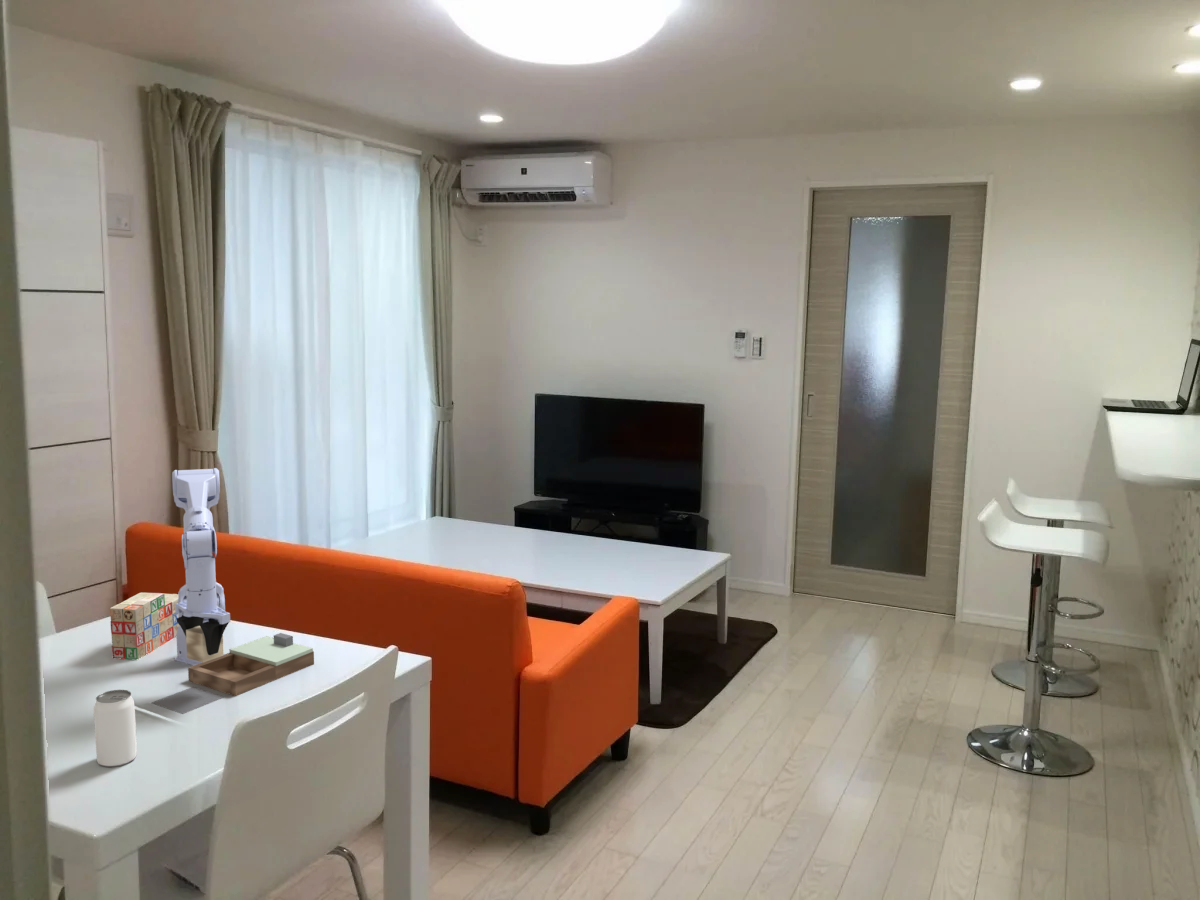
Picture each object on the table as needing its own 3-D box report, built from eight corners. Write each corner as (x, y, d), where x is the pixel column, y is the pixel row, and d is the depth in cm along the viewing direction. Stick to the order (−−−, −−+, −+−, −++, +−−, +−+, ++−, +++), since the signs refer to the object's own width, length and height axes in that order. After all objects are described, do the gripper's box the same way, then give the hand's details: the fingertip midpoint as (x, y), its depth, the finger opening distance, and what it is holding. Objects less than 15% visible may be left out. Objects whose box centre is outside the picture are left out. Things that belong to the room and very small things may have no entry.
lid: (229, 652, 217) (229, 640, 217) (266, 639, 226) (266, 627, 226) (276, 665, 210) (275, 653, 209) (312, 651, 219) (312, 639, 218)
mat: (151, 705, 197) (150, 702, 197) (193, 688, 205) (193, 686, 205) (183, 716, 192) (182, 713, 192) (225, 699, 201) (225, 696, 200)
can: (106, 751, 176) (102, 688, 175) (142, 750, 177) (139, 688, 175) (90, 768, 170) (86, 703, 168) (128, 767, 171) (125, 702, 169)
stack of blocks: (164, 628, 243) (161, 581, 241) (187, 630, 242) (185, 582, 241) (112, 659, 222) (109, 607, 220) (137, 660, 221) (135, 608, 219)
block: (187, 657, 201) (185, 629, 200) (207, 651, 205) (206, 623, 204) (203, 662, 198) (202, 634, 197) (223, 655, 203) (222, 627, 202)
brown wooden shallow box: (188, 683, 208) (188, 667, 208) (268, 653, 227) (267, 639, 226) (236, 698, 201) (235, 682, 201) (314, 666, 219) (313, 651, 219)
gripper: (161, 586, 199) (164, 650, 201) (208, 598, 192) (211, 663, 194) (190, 579, 205) (193, 640, 207) (237, 589, 198) (240, 653, 200)
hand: (204, 651), depth 201 cm, fingers closed on block, 5 cm apart
